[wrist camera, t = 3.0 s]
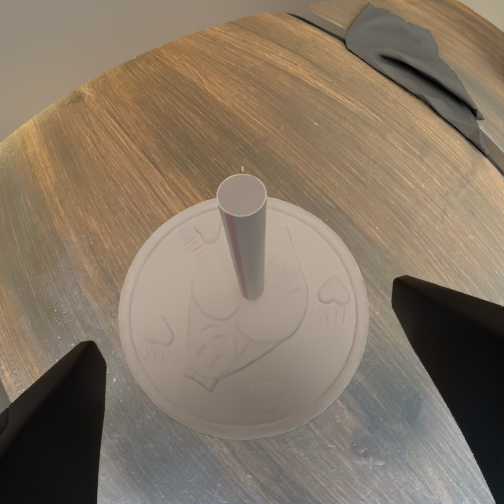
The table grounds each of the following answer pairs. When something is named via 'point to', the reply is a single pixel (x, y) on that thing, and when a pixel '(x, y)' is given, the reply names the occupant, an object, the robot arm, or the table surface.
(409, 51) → the cloth
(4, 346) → the table surface
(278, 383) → the smoothie
